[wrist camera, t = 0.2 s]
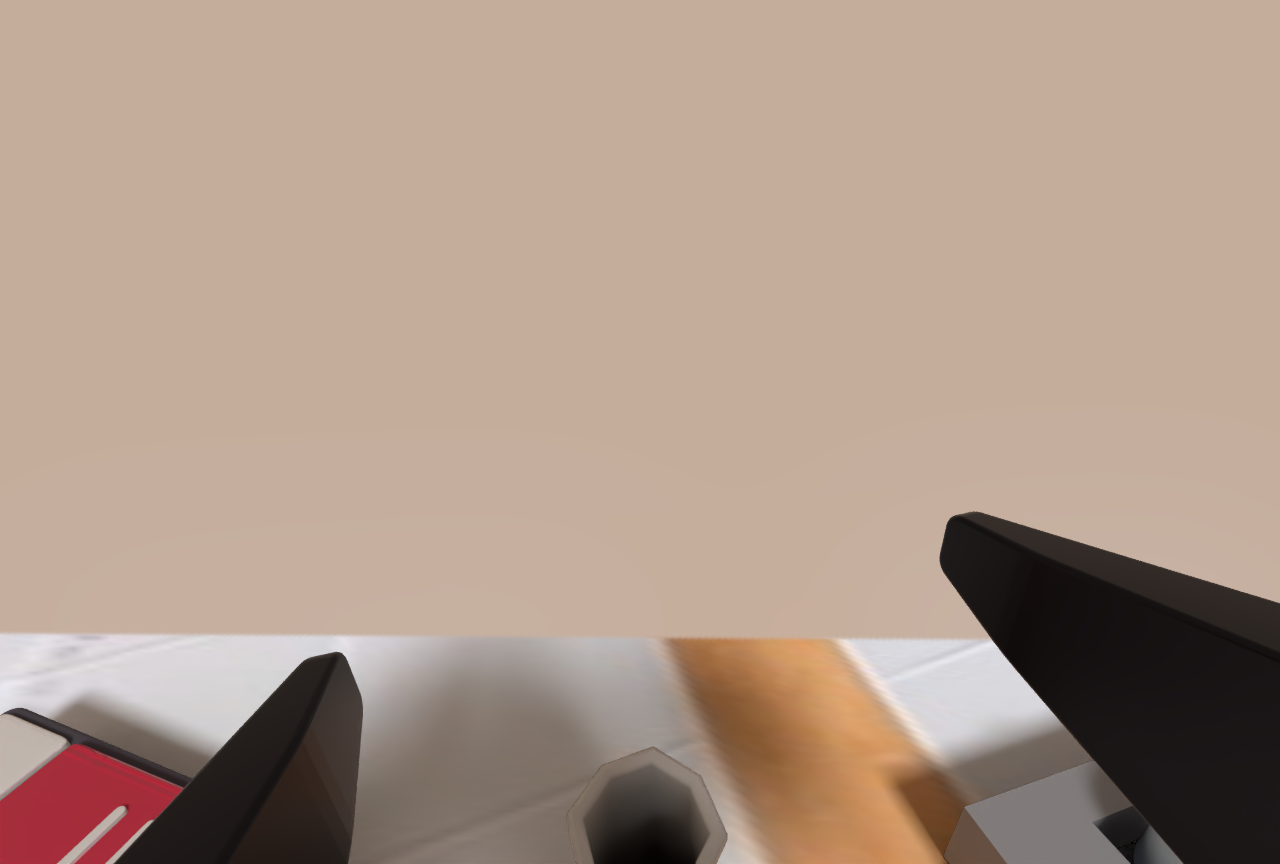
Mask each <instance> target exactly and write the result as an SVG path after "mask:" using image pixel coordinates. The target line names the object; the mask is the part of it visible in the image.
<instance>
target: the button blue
mask: <svg viewBox="0 0 1280 864" xmlns="http://www.w3.org/2000/svg"><path fill="white" fill-rule="evenodd" d="M1133 859H1134V864H1183V863H1182V862H1181V861H1180V860H1179V858H1178V857H1177V856H1176V855H1175V854H1174V853H1173V852H1172V850H1171V849H1170V848H1169V847H1168V846H1167V845H1166V843H1165V842H1164V841H1163V840H1162V839H1161V838H1160V836H1159V835H1158V834H1157V833H1156V832H1155V831H1154V829H1153V828H1152V827H1151V826H1150V825H1149V826H1148V827H1147V829H1146V830H1145V832H1144V833H1143V834H1142V836H1141V837H1140V839H1139V840H1138V842H1137V843H1136V846H1135V849H1134V857H1133Z"/></svg>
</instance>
